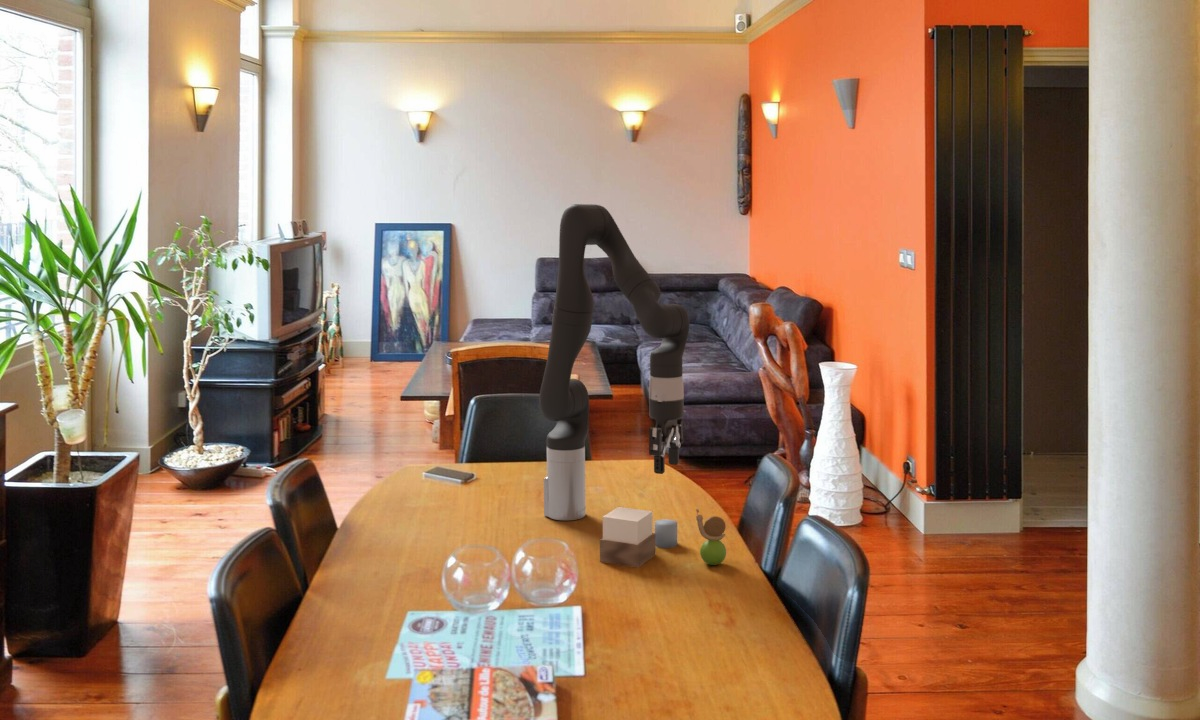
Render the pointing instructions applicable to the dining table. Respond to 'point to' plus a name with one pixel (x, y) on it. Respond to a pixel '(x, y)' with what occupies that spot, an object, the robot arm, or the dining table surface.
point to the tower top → (627, 525)
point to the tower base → (628, 552)
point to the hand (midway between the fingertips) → (666, 468)
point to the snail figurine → (712, 539)
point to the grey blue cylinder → (666, 533)
